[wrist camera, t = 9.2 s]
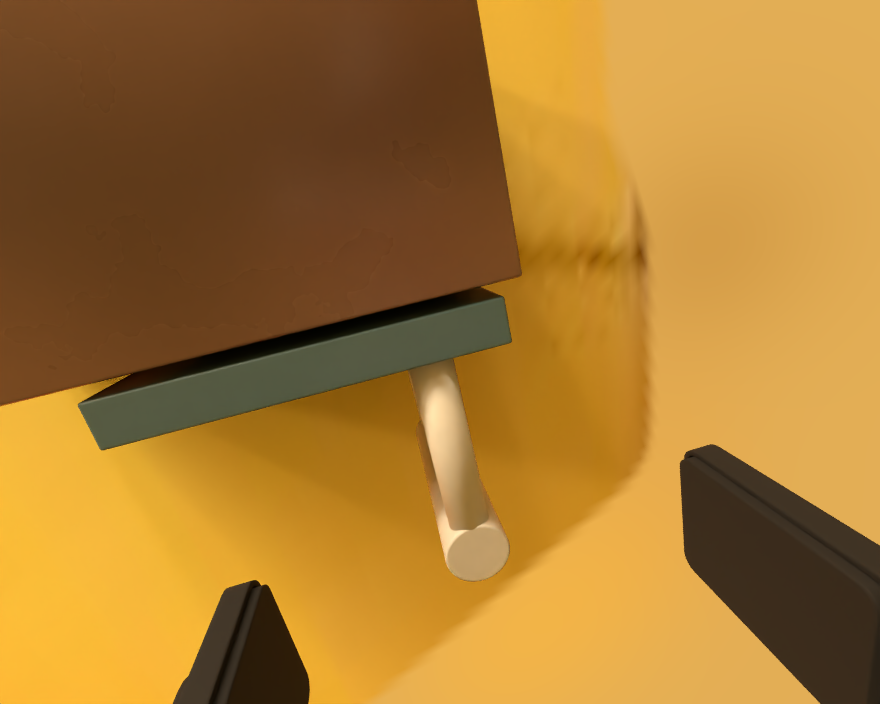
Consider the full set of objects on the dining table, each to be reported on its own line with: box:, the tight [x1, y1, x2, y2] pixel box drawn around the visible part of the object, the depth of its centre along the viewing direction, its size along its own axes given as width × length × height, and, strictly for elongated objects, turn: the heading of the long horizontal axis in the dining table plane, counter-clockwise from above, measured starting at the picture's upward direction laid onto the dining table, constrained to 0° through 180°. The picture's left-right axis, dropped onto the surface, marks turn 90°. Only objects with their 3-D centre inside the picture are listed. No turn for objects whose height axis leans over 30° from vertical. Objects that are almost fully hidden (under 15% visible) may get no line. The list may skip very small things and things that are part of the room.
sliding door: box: [78, 287, 512, 582], centre depth 14 cm, size 7×8×10 cm
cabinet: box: [0, 0, 522, 406], centre depth 11 cm, size 8×16×10 cm, turn 103°
